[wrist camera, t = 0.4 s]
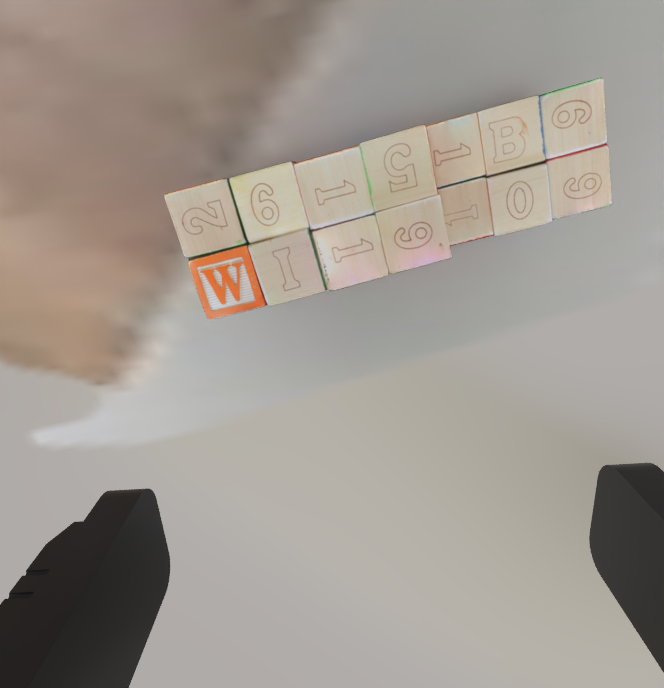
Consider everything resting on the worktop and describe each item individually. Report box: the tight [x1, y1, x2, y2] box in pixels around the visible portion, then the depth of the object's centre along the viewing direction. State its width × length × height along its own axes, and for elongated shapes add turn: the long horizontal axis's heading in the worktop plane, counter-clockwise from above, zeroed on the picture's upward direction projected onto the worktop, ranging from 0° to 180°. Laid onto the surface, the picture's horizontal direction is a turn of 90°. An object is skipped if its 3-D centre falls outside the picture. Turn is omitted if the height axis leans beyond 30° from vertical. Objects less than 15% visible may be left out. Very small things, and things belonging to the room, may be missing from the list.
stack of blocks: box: [165, 78, 612, 320], centre depth 28 cm, size 21×6×12 cm, turn 104°
